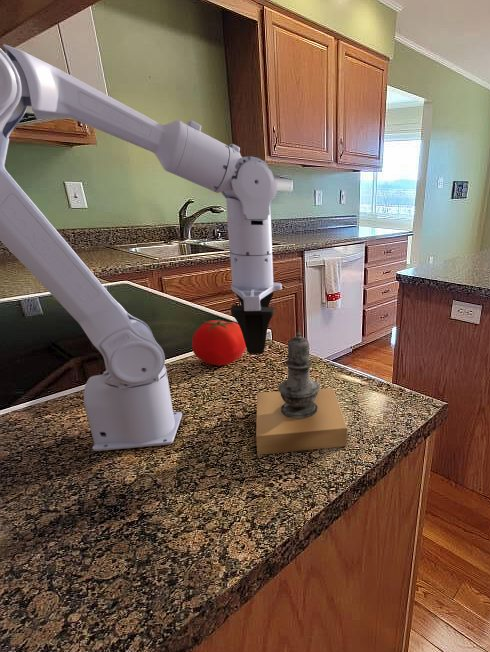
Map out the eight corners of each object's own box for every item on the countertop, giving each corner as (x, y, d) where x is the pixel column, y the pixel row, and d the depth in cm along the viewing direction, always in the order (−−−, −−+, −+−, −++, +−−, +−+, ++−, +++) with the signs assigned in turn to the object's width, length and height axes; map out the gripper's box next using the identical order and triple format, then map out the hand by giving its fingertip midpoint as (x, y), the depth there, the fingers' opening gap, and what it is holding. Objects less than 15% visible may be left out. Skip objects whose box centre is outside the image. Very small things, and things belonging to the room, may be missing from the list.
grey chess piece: (312, 422, 55) (312, 341, 50) (272, 416, 56) (268, 335, 51) (324, 402, 60) (325, 327, 55) (288, 396, 61) (286, 322, 56)
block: (257, 455, 52) (256, 436, 51) (258, 409, 63) (257, 392, 62) (346, 446, 55) (347, 427, 54) (332, 403, 66) (333, 387, 64)
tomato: (188, 358, 79) (183, 318, 76) (238, 348, 85) (235, 311, 82) (203, 375, 72) (197, 332, 69) (256, 364, 78) (253, 323, 75)
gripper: (282, 262, 50) (285, 361, 55) (279, 246, 63) (281, 327, 68) (223, 261, 48) (232, 363, 53) (232, 245, 61) (238, 328, 66)
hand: (256, 343), depth 61 cm, fingers open, 7 cm apart
